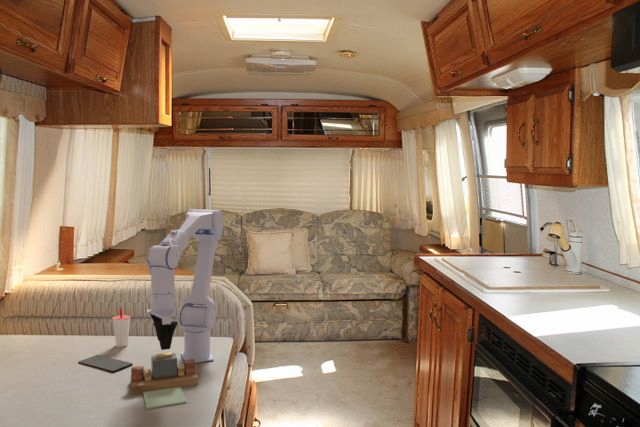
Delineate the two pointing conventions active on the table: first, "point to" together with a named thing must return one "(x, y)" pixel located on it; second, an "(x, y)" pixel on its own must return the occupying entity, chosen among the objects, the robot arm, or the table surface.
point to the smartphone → (105, 363)
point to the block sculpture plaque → (145, 383)
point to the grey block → (164, 366)
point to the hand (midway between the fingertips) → (163, 344)
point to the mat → (164, 397)
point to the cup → (121, 329)
